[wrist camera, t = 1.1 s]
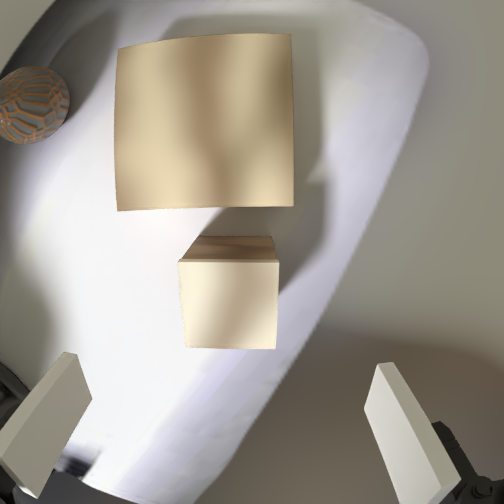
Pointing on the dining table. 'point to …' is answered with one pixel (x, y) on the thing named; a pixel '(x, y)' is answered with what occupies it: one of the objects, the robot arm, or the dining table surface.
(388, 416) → the robot arm
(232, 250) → the pale wooden block
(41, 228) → the dining table surface
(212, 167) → the beech base
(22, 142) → the vase
